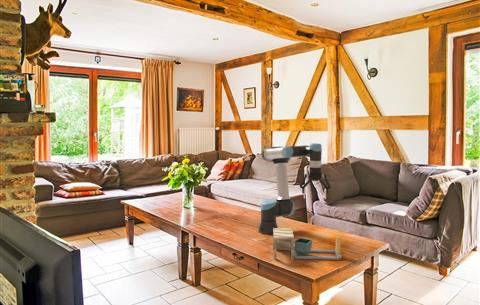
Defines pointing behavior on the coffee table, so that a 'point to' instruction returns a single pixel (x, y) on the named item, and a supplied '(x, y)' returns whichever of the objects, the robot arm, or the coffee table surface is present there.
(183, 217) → the coffee table surface
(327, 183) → the robot arm
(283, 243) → the shelf
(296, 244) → the flower pot
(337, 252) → the frame with square tube
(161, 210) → the coffee table surface
